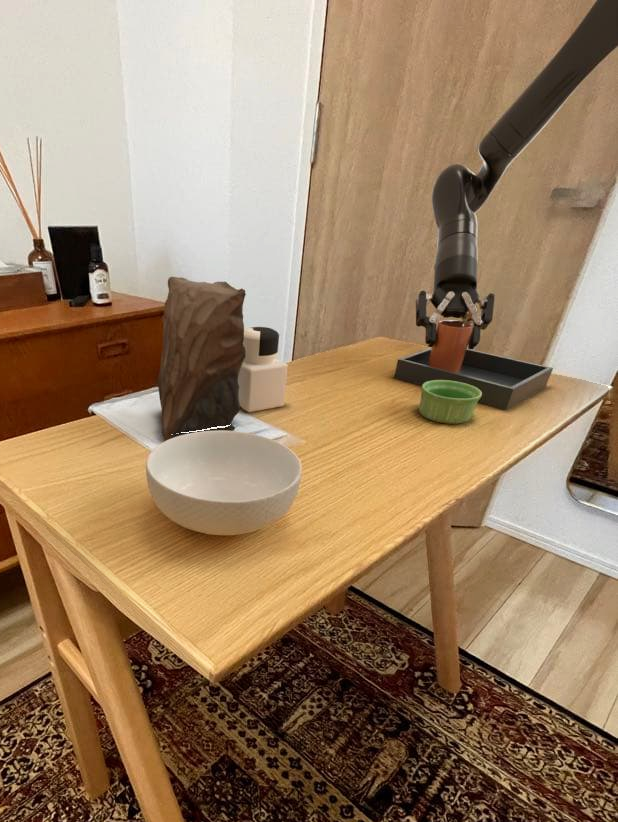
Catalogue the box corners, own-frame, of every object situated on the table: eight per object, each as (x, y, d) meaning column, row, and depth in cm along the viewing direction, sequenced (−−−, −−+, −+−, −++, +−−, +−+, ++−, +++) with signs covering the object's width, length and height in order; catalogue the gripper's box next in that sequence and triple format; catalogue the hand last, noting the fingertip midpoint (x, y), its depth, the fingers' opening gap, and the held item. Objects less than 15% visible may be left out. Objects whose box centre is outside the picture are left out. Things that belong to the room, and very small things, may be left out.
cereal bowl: (326, 528, 55) (336, 472, 51) (199, 581, 47) (198, 521, 43) (238, 466, 66) (240, 417, 62) (125, 501, 59) (119, 448, 55)
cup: (435, 365, 101) (448, 318, 96) (464, 372, 97) (479, 324, 92) (419, 371, 98) (432, 323, 92) (449, 379, 94) (464, 329, 89)
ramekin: (482, 415, 81) (491, 389, 79) (459, 431, 76) (467, 403, 74) (430, 400, 86) (437, 375, 84) (405, 414, 81) (412, 388, 79)
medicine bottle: (263, 393, 89) (268, 322, 82) (284, 406, 84) (291, 332, 76) (228, 399, 86) (230, 326, 79) (247, 413, 81) (252, 337, 74)
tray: (438, 360, 106) (443, 343, 104) (545, 387, 93) (553, 367, 91) (393, 377, 96) (397, 359, 94) (505, 410, 83) (513, 389, 81)
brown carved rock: (159, 409, 82) (151, 274, 70) (234, 407, 83) (239, 274, 71) (160, 441, 72) (152, 291, 60) (245, 438, 73) (253, 290, 61)
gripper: (423, 251, 92) (419, 333, 90) (504, 254, 91) (501, 337, 88) (411, 278, 100) (407, 354, 97) (485, 281, 98) (483, 358, 96)
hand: (452, 345), depth 93 cm, fingers open, 7 cm apart
